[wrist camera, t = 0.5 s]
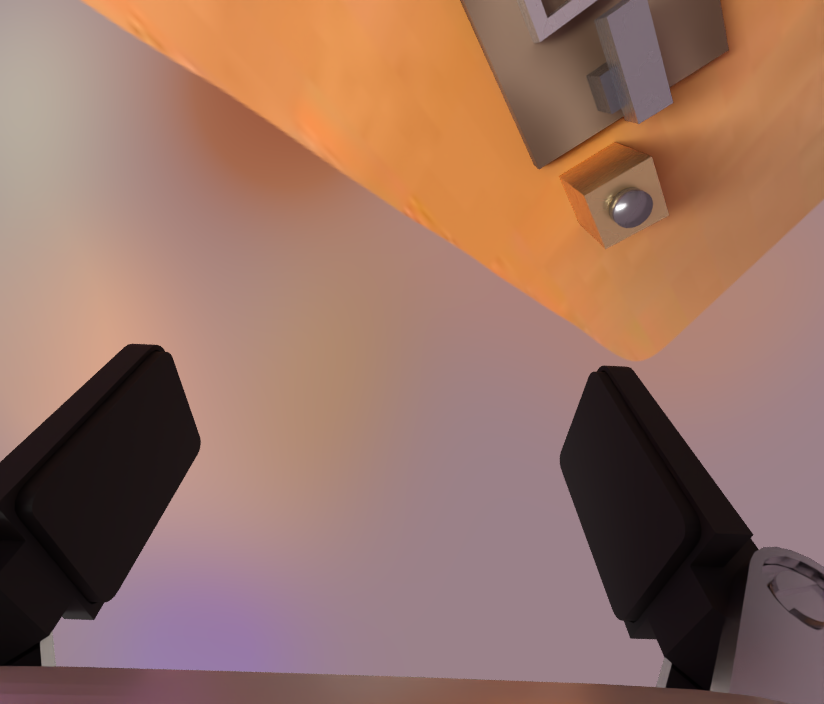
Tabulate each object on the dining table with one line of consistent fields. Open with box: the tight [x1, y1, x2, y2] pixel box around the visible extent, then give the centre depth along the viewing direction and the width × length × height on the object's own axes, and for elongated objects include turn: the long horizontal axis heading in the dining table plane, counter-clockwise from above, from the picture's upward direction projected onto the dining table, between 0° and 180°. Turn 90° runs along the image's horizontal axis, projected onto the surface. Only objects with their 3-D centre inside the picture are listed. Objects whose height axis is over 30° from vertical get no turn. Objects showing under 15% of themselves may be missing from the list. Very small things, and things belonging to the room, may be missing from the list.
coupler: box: [559, 142, 669, 249], centre depth 30 cm, size 4×4×7 cm
